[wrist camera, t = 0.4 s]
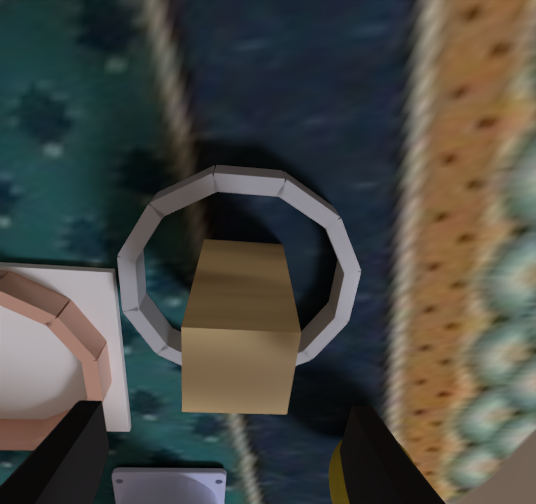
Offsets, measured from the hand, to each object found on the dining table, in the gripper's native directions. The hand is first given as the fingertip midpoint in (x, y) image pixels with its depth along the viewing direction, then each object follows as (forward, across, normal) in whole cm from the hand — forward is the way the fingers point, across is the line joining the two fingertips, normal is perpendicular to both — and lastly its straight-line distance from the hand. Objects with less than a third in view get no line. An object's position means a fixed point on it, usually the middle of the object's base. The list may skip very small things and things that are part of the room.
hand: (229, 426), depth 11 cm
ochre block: (+9, 0, 0) cm, 9 cm away
